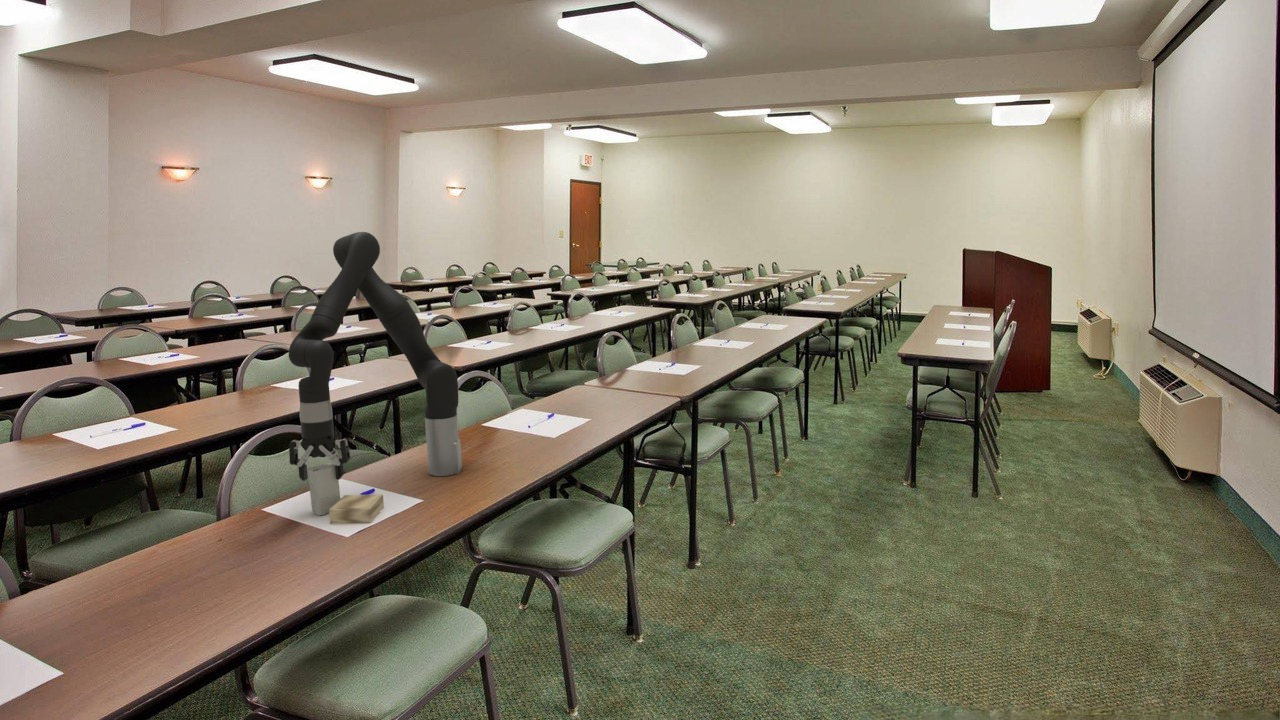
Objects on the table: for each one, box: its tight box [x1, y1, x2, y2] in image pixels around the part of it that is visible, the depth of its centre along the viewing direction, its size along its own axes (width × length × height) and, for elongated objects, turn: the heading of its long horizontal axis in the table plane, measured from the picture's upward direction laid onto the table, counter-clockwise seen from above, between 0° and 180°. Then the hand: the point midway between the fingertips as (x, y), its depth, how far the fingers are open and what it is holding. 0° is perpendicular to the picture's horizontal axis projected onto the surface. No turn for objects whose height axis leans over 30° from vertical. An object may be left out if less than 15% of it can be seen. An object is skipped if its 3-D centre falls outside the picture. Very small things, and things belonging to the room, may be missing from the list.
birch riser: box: [328, 493, 385, 525], centre depth 186 cm, size 10×10×4 cm
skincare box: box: [307, 462, 341, 517], centre depth 188 cm, size 6×4×12 cm
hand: (321, 479), depth 188 cm, fingers open, 8 cm apart
